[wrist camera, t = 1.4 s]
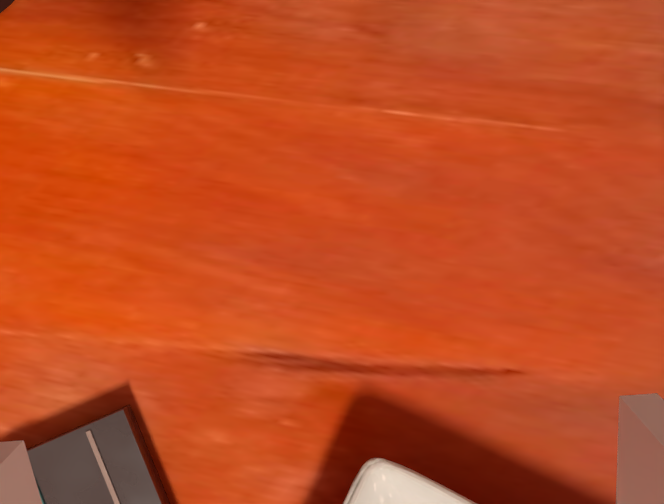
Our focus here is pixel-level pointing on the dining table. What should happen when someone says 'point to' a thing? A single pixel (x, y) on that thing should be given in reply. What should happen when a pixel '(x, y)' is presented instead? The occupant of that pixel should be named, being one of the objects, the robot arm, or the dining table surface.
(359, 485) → the square plate
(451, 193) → the dining table surface
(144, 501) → the dark grey marked board
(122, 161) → the dining table surface
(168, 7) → the dining table surface
